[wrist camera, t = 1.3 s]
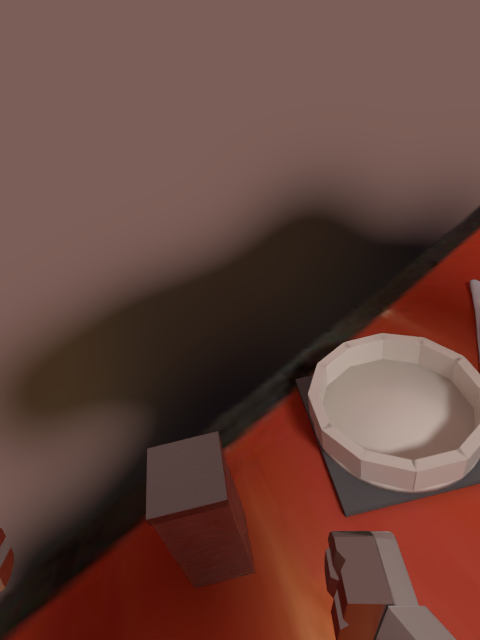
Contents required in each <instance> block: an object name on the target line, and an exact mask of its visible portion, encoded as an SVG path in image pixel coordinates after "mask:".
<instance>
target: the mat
mask: <svg viewBox="0 0 480 640" xmlns="http://www.w3.org/2000/svg"><path fill="white" fill-rule="evenodd" d="M313 376H314V375H311V376H307V377H303V378H299V379H295V380H296V384H297V387H298V390H299V392H300V395H301V398H302V401H303V403H304V406H305V409H306V411H307V414H308V417H309V419H310V422H311V425H312V428H313V430H314V433H315V436H316V432H315V429H314V423H313V421H312V418H311V415H310V410H309V401H308V392H309V389H310V385H311V382H312V379H313ZM316 438H317V436H316ZM317 441H318V444H319V447H320V449H321V452H322V455H323V457H324V460H325V463H326V465H327V468H328V471H329V474H330V476H331V479H332V482H333V484H334V487H335V490H336V492H337V495H338V498H339V501H340V503H341V506H342V509H343V511H344V514H345V517H347V516H351V515H355V514H359V513H363V512H367V511H371V510H375V509H379V508H383V507H387V506H391V505H395V504H399V503H403V502H407V501H411V500H415V499H419V498H423V497H427V496H431V495H435V494H439V493H443V492H447V491H451V490H455V489H459V488H463V487H467V486H471V485H475V484H479V483H480V459H479V461H478V463H477V464H476V466H475V467H474V469H473V470H472V471H471V472H470V473H469V474H468V475H467V476H466V477H464V478H463V479H461V480H460V481H459V482H457V483H455V484H453V485H451V486H449V487H447V488H444V489H441V490H438V491H434V492H428V493H419V494H405V493H395V492H390V491H385V490H382V489H378V488H375V487H372V486H370V485H367V484H365V483H363V482H361V481H359V480H357V479H355V478H353V477H352V476H350V475H349V474H347V473H346V472H345V471H343V470H342V469H341V468H339V467H338V466H337V465H336V464H335V463H334V462H333V461H332V460H331V459H330V457H329V456H328V455H327V454H326V452H325V451H324V449H323V448H322V446H321V445H320V442H319V440H318V438H317Z"/></svg>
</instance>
